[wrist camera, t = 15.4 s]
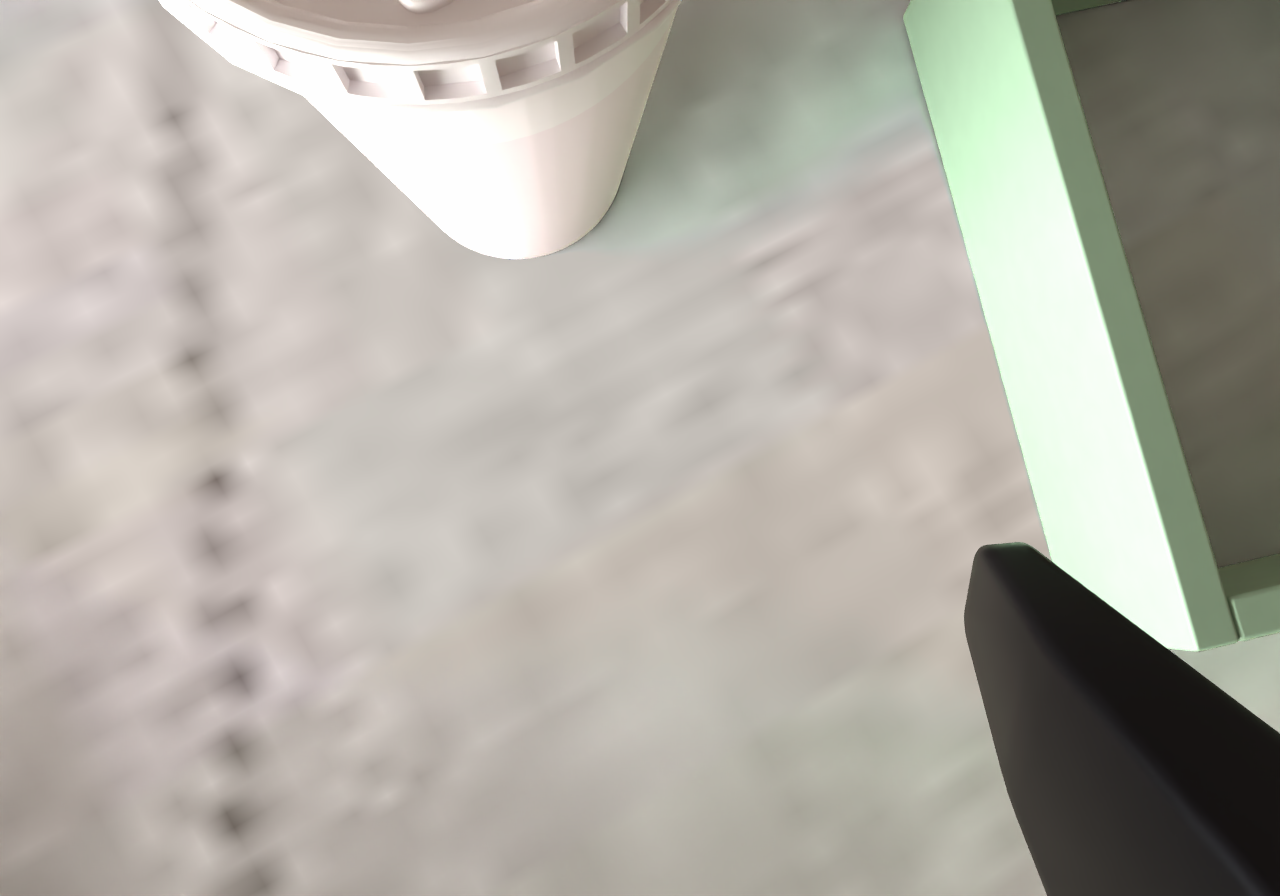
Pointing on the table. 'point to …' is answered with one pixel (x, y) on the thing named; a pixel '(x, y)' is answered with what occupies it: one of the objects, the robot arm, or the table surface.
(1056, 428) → the green open tray
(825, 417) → the table surface
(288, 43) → the smoothie
